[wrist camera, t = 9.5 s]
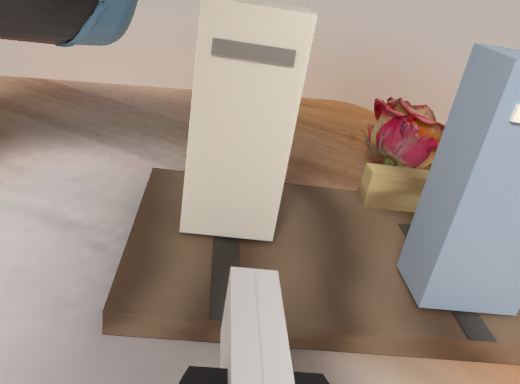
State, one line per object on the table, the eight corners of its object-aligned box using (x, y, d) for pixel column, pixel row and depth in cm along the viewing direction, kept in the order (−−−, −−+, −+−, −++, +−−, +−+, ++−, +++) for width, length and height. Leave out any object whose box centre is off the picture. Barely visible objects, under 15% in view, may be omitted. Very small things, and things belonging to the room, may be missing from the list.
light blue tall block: (419, 309, 27) (519, 60, 20) (396, 265, 30) (474, 42, 24) (517, 318, 27) (642, 79, 21) (483, 273, 31) (580, 59, 25)
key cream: (179, 233, 30) (200, -4, 23) (184, 201, 33) (204, -11, 27) (272, 243, 30) (318, 15, 24) (268, 211, 34) (306, 6, 28)
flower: (420, 192, 42) (471, 118, 42) (334, 140, 45) (382, 71, 45) (415, 210, 51) (456, 149, 51) (344, 166, 54) (383, 109, 54)
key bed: (102, 334, 24) (103, 261, 22) (152, 184, 39) (154, 133, 37) (570, 368, 27) (608, 307, 25) (448, 217, 42) (465, 171, 40)
